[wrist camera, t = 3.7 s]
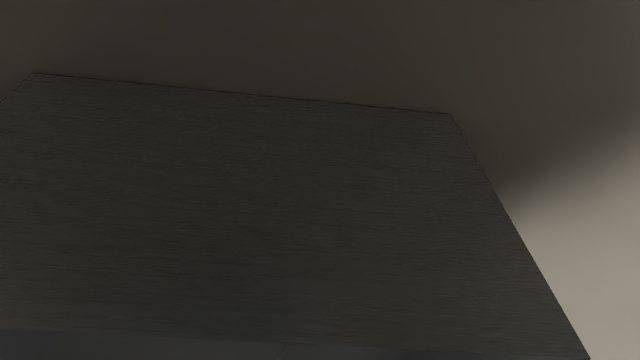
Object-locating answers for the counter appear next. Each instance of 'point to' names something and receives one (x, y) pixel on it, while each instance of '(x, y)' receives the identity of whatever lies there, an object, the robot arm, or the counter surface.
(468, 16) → the counter surface
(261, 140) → the grey open box
